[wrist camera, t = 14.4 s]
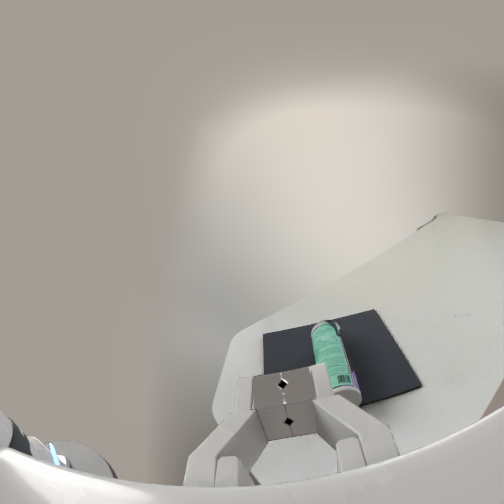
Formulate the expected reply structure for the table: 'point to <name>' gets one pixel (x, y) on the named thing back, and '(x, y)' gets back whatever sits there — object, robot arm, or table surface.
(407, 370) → the mat
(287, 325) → the table surface
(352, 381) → the spray can
